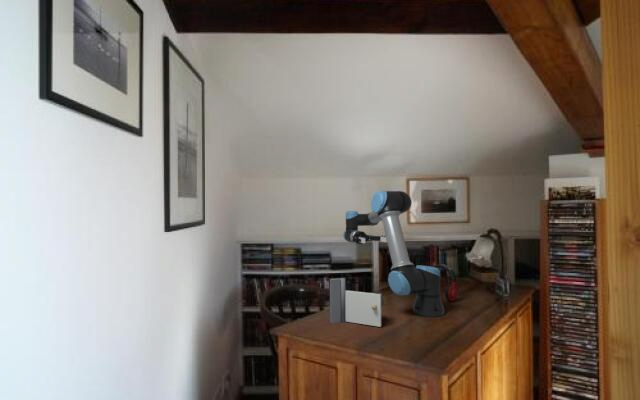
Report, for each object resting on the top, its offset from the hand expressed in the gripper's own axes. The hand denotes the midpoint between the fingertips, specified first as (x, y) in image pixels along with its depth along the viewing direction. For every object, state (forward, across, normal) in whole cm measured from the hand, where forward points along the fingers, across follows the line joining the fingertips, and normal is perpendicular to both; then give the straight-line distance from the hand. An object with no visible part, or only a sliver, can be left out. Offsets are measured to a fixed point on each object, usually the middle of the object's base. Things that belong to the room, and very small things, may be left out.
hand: (376, 240), depth 199 cm
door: (+27, +22, -35) cm, 49 cm away
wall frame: (+19, +31, -35) cm, 50 cm away
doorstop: (+15, +15, -31) cm, 38 cm away
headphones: (+2, -41, -35) cm, 54 cm away
